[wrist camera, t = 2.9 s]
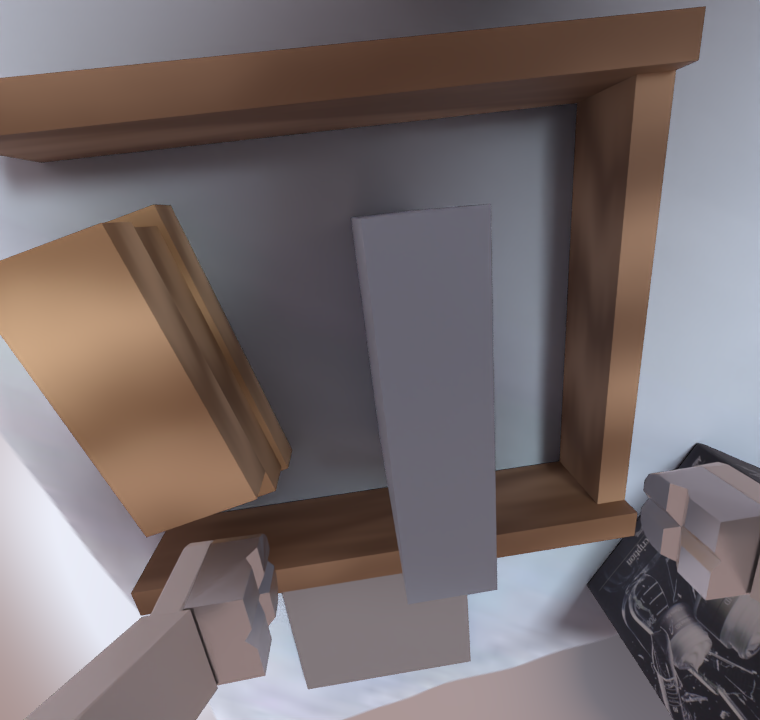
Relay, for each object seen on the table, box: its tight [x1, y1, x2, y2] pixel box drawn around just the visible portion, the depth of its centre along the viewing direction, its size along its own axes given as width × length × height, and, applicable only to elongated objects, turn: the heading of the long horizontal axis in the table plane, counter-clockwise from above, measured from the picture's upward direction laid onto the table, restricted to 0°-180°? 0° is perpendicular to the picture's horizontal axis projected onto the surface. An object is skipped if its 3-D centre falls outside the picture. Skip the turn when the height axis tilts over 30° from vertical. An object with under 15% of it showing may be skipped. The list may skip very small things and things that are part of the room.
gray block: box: [351, 204, 497, 604], centre depth 16 cm, size 12×3×11 cm, turn 6°
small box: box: [587, 444, 760, 720], centre depth 23 cm, size 13×7×12 cm, turn 156°
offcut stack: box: [0, 205, 292, 537], centre depth 18 cm, size 14×6×6 cm, turn 19°
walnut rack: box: [0, 6, 706, 615], centre depth 19 cm, size 22×26×5 cm
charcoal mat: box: [282, 573, 471, 689], centre depth 28 cm, size 12×12×1 cm
